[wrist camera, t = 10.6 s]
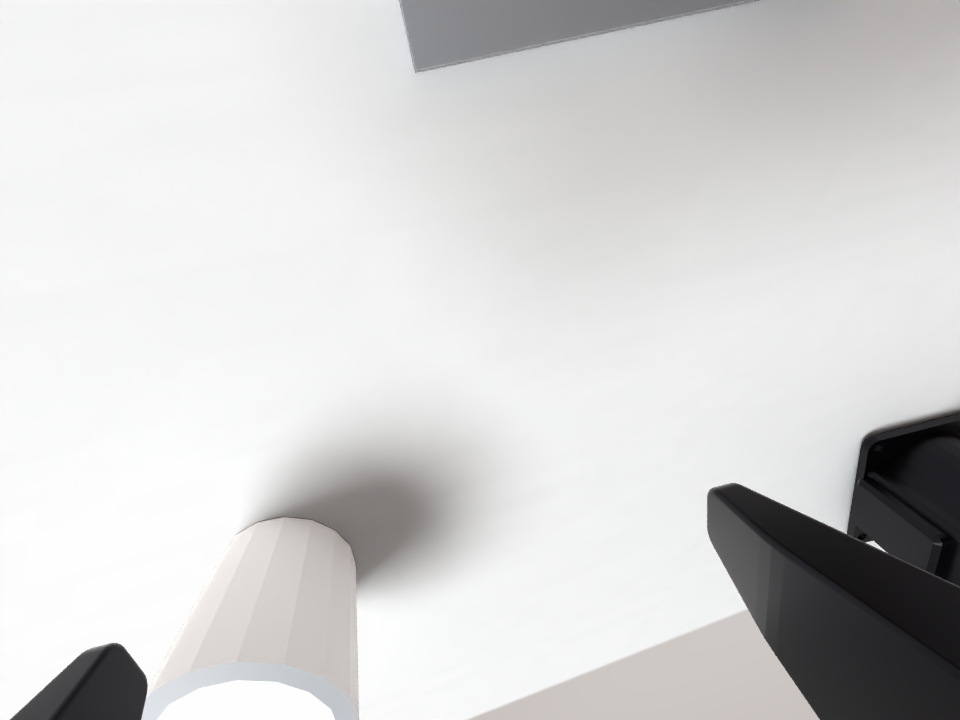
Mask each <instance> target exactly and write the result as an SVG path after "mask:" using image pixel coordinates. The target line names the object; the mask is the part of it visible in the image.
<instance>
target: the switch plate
mask: <svg viewBox="0 0 960 720" xmlns="http://www.w3.org/2000/svg"><path fill="white" fill-rule="evenodd" d="M399 1H400V6H401V10H402V15H403V19H404V24H405V29H406V33H407V38H408V42H409V47H410V52H411V56H412V61H413V65H414V70H415V73H417V72H422V71H426V70H431V69H436V68H441V67H445V66H450V65H455V64H460V63H464V62H469V61H474V60H479V59H483V58H488V57H493V56H498V55H502V54H507V53H512V52H517V51H521V50H526V49H531V48H535V47H540V46H545V45H550V44H554V43H559V42H564V41H569V40H573V39H578V38H583V37H588V36H592V35H597V34H602V33H607V32H611V31H616V30H621V29H626V28H630V27H635V26H640V25H645V24H649V23H654V22H659V21H664V20H668V19H673V18H678V17H683V16H687V15H692V14H697V13H702V12H706V11H711V10H716V9H721V8H725V7H730V6H735V5H740V4H744V3H749V2H754V1H759V0H399Z"/></svg>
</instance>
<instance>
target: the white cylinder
mask: <svg viewBox="0 0 960 720" xmlns="http://www.w3.org/2000/svg"><path fill="white" fill-rule="evenodd" d="M141 720H359V701H358V652H357V603H356V564H355V560H354V557H353V554H352V550H351V547H350V545H349V544H348V543H347V542H346V541H345V540H344V539H343V538H342V537H341V536H340V535H339V534H338V533H337V532H336V531H335V530H333V529H331V528H329V527H326V526H324V525H322V524H320V523H318V522H315V521H313V520H307V519H298V518H289V517H282V518H277V519H272V520H266V521H261V522H257V523H256V524H254V525H252V526H250V527H249V528H247V529H245V530H243V531H242V532H240V533H238V534H236V536H235V537H234V538H233V540H232V541H231V542H230V544H229V545H228V547H227V548H226V549H225V551H224V552H223V554H222V556H221V557H220V559H219V561H218V563H217V565H216V566H215V568H214V570H213V572H212V574H211V575H210V577H209V579H208V581H207V583H206V584H205V586H204V588H203V590H202V592H201V593H200V595H199V597H198V599H197V601H196V602H195V604H194V606H193V608H192V610H191V611H190V613H189V615H188V617H187V619H186V621H185V622H184V624H183V626H182V628H181V630H180V631H179V633H178V635H177V637H176V639H175V640H174V642H173V644H172V646H171V648H170V649H169V651H168V653H167V655H166V657H165V658H164V660H163V662H162V664H161V666H160V667H159V669H158V671H157V673H156V675H155V676H154V678H153V680H152V682H151V684H150V685H149V687H148V689H147V697H146V701H145V706H144V710H143V715H142V719H141Z"/></svg>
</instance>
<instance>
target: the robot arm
mask: <svg viewBox="0 0 960 720" xmlns="http://www.w3.org/2000/svg"><path fill="white" fill-rule="evenodd" d="M707 529H708V534H709V537H710V540H711V542H712V544H713V546H714V548H715V550H716V552H717V554H718V555H719V557H720V559H721V561H722V563H723V564H724V566H725V568H726V570H727V572H728V574H729V575H730V577H731V579H732V581H733V583H734V584H735V586H736V588H737V590H738V592H739V593H740V595H741V597H742V599H743V601H744V603H745V604H746V606H747V608H748V610H749V612H750V613H751V615H752V617H753V619H754V621H755V622H756V624H757V626H758V627H759V629H760V631H761V633H762V635H763V636H764V638H765V639H766V641H767V643H768V644H769V646H770V647H771V649H772V650H773V651H774V653H775V655H776V656H777V657H778V659H779V661H780V662H781V663H782V665H783V666H784V668H785V669H786V671H787V672H788V674H789V675H790V677H791V678H792V679H793V681H794V682H795V684H796V685H797V687H798V688H799V690H800V691H801V693H802V694H803V695H804V697H805V699H806V700H807V701H808V703H809V704H810V706H811V707H812V709H813V710H814V712H815V713H816V714H817V716H818V717H819V719H820V720H960V414H956V415H952V416H948V417H944V418H940V419H936V420H932V421H929V422H925V423H921V424H917V425H913V426H909V427H905V428H901V429H897V430H893V431H889V432H886V433H882V434H878V435H874V436H871V437H869V438H867V439H866V440H865V441H864V442H863V443H862V446H861V450H860V456H859V462H858V469H857V475H856V481H855V487H854V493H853V500H852V506H851V512H850V518H849V524H848V531H847V534H845V533H843V532H841V531H839V530H837V529H834V528H832V527H830V526H828V525H826V524H824V523H822V522H819V521H817V520H815V519H813V518H811V517H809V516H807V515H804V514H802V513H800V512H798V511H796V510H794V509H791V508H789V507H787V506H785V505H783V504H781V503H779V502H776V501H774V500H772V499H770V498H768V497H766V496H764V495H761V494H759V493H757V492H755V491H753V490H751V489H749V488H746V487H744V486H742V485H740V484H736V483H730V484H726V485H722V486H718V487H714V488H712V489H710V490H709V492H708V496H707ZM873 540H874V541H875V542H876V543H877V544H878V545H879V546H880V547H882V548H883V549H884V550H885V551H886V552H887V553H886V552H884V551H882V550H880V549H877V548H875V547H873V546H871V545H869V544H867V543H865V542H869V541H873ZM147 687H148V685H147V679H146V676H145V674H144V673H143V671H142V670H141V669H140V667H139V666H138V665H137V663H136V662H135V661H134V660H133V658H132V657H131V656H130V654H129V653H128V652H127V650H126V649H125V648H124V647H123V646H122V645H120V644H118V643H110V644H107V645H103V646H99V647H95V648H91V649H89V650H86V651H85V652H83V653H82V654H81V655H79V656H78V657H77V658H76V659H75V660H74V661H73V662H72V663H71V664H70V665H69V666H67V667H66V668H65V669H64V670H63V671H62V672H61V673H60V674H59V675H58V676H57V677H56V678H55V679H53V680H52V681H51V682H50V683H49V684H48V685H47V686H46V687H45V688H44V689H43V690H42V691H41V692H39V693H38V694H37V695H36V696H35V697H34V698H33V699H32V700H31V701H30V702H29V703H28V704H27V705H25V706H24V707H23V708H22V709H21V710H20V711H19V712H18V713H17V714H16V715H15V716H14V717H13V718H11V719H10V720H141V719H142V715H143V710H144V706H145V701H146V697H147Z"/></svg>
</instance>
